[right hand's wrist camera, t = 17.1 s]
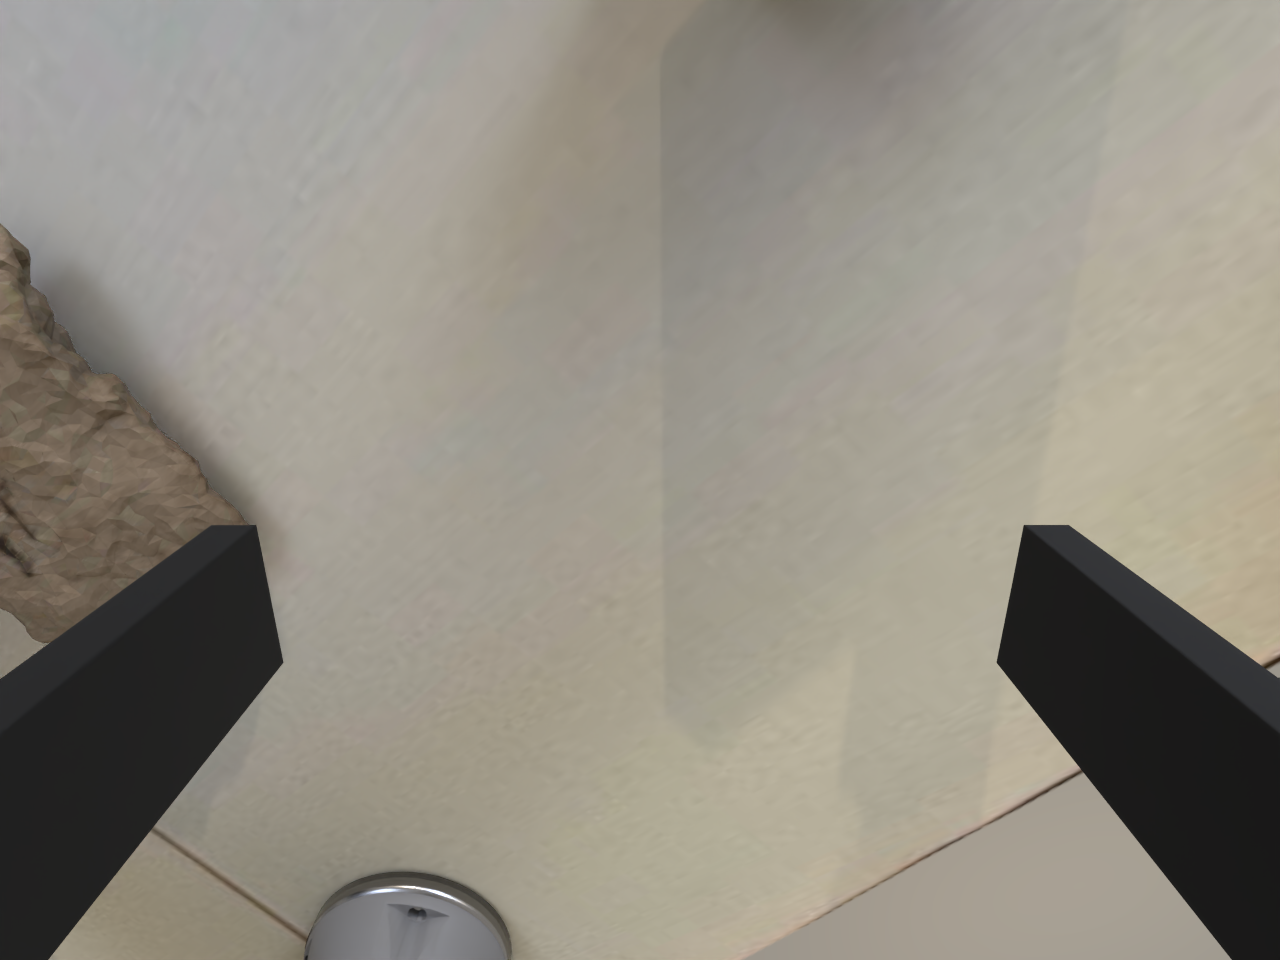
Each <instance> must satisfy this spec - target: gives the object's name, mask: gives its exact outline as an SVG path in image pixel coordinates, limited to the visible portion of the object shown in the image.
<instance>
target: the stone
mask: <svg viewBox="0 0 1280 960" xmlns="http://www.w3.org/2000/svg"><path fill="white" fill-rule="evenodd" d="M30 260H31V259H30V255H29V251H28V249H27V248H26V247H25V246H24V245H22V244H21V243H20V242H19V241H18V240H16V239H15V238H14V237H13V236H12V235H11V234H10V233H9V231H8V230H7V229H6V228H5V227H4V226H3V225H1V224H0V608H1V609H3V610H6V611H8V612H10V613H12V614H13V615H14V616H15V617H16V618H17V619H18V620H19V621H20V622H21V623H22V624H23V625H24V626H25V627H26V630H27V632H28V633H29V635H30V636H31V637H32V638H33V639H35V640H37V641H39V642H43V643H49V642H52V641H53V640H55V639H56V638H57V637H59V636H60V635H62V634H63V633H64V632H66V631H67V630H68V629H70V628H71V627H73V626H74V625H75V624H77V623H78V622H79V621H81V620H82V619H83V618H85V617H86V616H88V615H89V614H90V613H92V612H93V611H94V610H96V609H97V608H99V607H100V606H101V605H103V604H104V603H105V602H107V601H108V600H109V599H111V598H112V597H114V596H115V595H116V594H118V593H119V592H120V591H122V590H123V589H125V588H126V587H127V586H129V585H130V584H131V583H133V582H134V581H136V580H137V579H138V578H140V577H141V576H142V575H144V574H145V573H146V572H148V571H149V570H151V569H152V568H153V567H155V566H156V565H157V564H159V563H160V562H162V561H163V560H164V559H166V558H167V557H168V556H170V555H171V554H172V553H174V552H175V551H177V550H178V549H179V548H181V547H182V546H183V545H185V544H186V543H188V542H189V541H190V540H192V539H193V538H194V537H196V536H197V535H198V534H200V533H201V532H203V531H204V530H205V529H207V528H208V527H209V526H211V525H249V524H248V523H246V522H245V521H244V519H243V518H242V516H241V514H240V513H239V512H238V510H236V509H235V508H234V507H233V506H232V505H231V504H230V503H229V502H228V501H227V500H225V499H224V498H223V497H222V496H221V495H220V494H218V493H217V492H215V491H214V490H213V489H212V488H211V487H210V485H209V484H208V481H207V479H206V478H205V477H204V476H203V474H202V473H201V471H200V467H199V463H198V461H197V460H195V459H194V458H193V457H191V456H190V455H189V454H188V453H186V452H185V451H183V450H182V449H181V448H180V447H179V445H178V444H177V443H176V442H174V441H172V440H170V439H168V438H167V437H166V436H165V435H164V434H163V433H162V432H161V431H160V430H159V429H158V428H157V427H156V425H155V424H154V422H153V420H152V419H151V416H150V413H149V412H147V411H146V410H145V409H144V408H142V407H141V406H140V405H139V404H138V402H137V401H136V400H135V399H134V398H133V397H132V395H131V394H130V393H129V391H128V388H127V387H126V385H125V384H124V383H123V382H122V381H121V380H120V379H119V378H118V377H117V376H116V375H114V374H95V373H93V372H92V371H91V370H90V368H89V366H88V364H87V362H86V361H85V360H84V359H83V358H82V357H81V356H79V355H78V354H76V352H75V349H74V347H73V344H72V342H71V339H70V336H69V335H68V333H67V331H66V330H65V329H64V328H63V327H62V326H61V325H59V324H57V323H56V322H54V316H53V311H52V310H51V309H50V307H49V304H48V302H47V300H46V297H45V296H44V295H43V294H41V293H40V292H39V291H37V290H36V289H35V288H34V287H32V286H31V285H30V283H31V281H30Z"/></svg>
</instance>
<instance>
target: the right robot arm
mask: <svg viewBox="0 0 1280 960" xmlns="http://www.w3.org/2000/svg"><path fill="white" fill-rule="evenodd" d="M282 664H283V658H282V653H281V648H280V643H279V638H278V633H277V628H276V623H275V618H274V613H273V608H272V603H271V598H270V593H269V588H268V583H267V578H266V573H265V568H264V563H263V557H262V552H261V547H260V542H259V537H258V532H257V527H256V525H211V526H209V527H208V528H207V529H205V530H204V531H203V532H201V533H200V534H198V535H197V536H196V537H194V538H193V539H192V540H190V541H189V542H188V543H186V544H185V545H183V546H182V547H181V548H179V549H178V550H177V551H175V552H174V553H172V554H171V555H170V556H168V557H167V558H166V559H164V560H163V561H162V562H160V563H159V564H157V565H156V566H155V567H153V568H152V569H151V570H149V571H148V572H146V573H145V574H144V575H142V576H141V577H140V578H138V579H137V580H136V581H134V582H133V583H131V584H130V585H129V586H127V587H126V588H125V589H123V590H122V591H120V592H119V593H118V594H116V595H115V596H114V597H112V598H111V599H109V600H108V601H107V602H105V603H104V604H103V605H101V606H100V607H99V608H97V609H96V610H94V611H93V612H92V613H90V614H89V615H88V616H86V617H85V618H83V619H82V620H81V621H79V622H78V623H77V624H75V625H74V626H73V627H71V628H70V629H68V630H67V631H66V632H64V633H63V634H62V635H60V636H59V637H57V638H56V639H55V640H53V641H52V642H51V643H49V644H48V645H47V646H45V647H44V648H42V649H41V650H40V651H38V652H37V653H36V654H34V655H33V656H31V657H30V658H29V659H27V660H26V661H25V662H23V663H22V664H20V665H19V666H18V667H16V668H15V669H14V670H12V671H11V672H10V673H8V674H7V675H5V676H4V677H3V678H1V679H0V960H48V959H49V958H50V957H51V955H52V954H53V953H54V952H55V950H56V949H57V948H58V947H59V945H60V944H61V943H62V942H63V940H64V939H65V938H66V936H67V935H68V934H69V933H70V931H71V930H72V929H73V928H74V926H75V925H76V924H77V923H78V921H79V920H80V919H81V918H82V916H83V915H84V914H85V912H86V911H87V910H88V909H89V907H90V906H91V905H92V904H93V902H94V901H95V900H96V899H97V897H98V896H99V895H100V894H101V892H102V891H103V890H104V888H105V887H106V886H107V885H108V883H109V882H110V881H111V880H112V878H113V877H114V876H115V875H116V873H117V872H118V871H119V870H120V868H121V867H122V866H123V864H124V863H125V862H126V861H127V859H128V858H129V857H130V856H131V854H132V853H133V852H134V851H135V849H136V848H137V847H138V846H139V844H140V843H141V842H142V840H143V839H144V838H145V837H146V835H147V834H148V833H149V832H150V830H151V829H152V828H153V827H154V825H155V824H156V823H157V822H158V820H159V819H160V818H161V816H162V815H163V814H164V813H165V811H166V810H167V809H168V808H169V806H170V805H171V804H172V803H173V801H174V800H175V799H176V798H177V796H178V795H179V794H180V792H181V791H182V790H183V789H184V787H185V786H186V785H187V784H188V782H189V781H190V780H191V779H192V777H193V776H194V775H195V774H196V772H197V771H198V770H199V768H200V767H201V766H202V765H203V763H204V762H205V761H206V760H207V758H208V757H209V756H210V755H211V753H212V752H213V751H214V750H215V748H216V747H217V746H218V744H219V743H220V742H221V741H222V739H223V738H224V737H225V736H226V734H227V733H228V732H229V731H230V729H231V728H232V727H233V726H234V724H235V723H236V722H237V720H238V719H239V718H240V717H241V715H242V714H243V713H244V712H245V710H246V709H247V708H248V707H249V705H250V704H251V703H252V702H253V700H254V699H255V698H256V696H257V695H258V694H259V693H260V691H261V690H262V689H263V688H264V686H265V685H266V684H267V683H268V681H269V680H270V679H271V678H272V676H273V675H274V674H275V672H276V671H277V670H278V669H279V667H280V666H281V665H282ZM997 664H998V665H999V666H1000V667H1001V669H1002V670H1003V671H1004V672H1005V674H1006V675H1007V676H1008V678H1009V679H1010V680H1011V681H1012V683H1013V684H1014V685H1015V686H1016V688H1017V689H1018V690H1019V691H1020V693H1021V694H1022V695H1023V696H1024V698H1025V699H1026V700H1027V702H1028V703H1029V704H1030V705H1031V707H1032V708H1033V709H1034V710H1035V712H1036V713H1037V714H1038V715H1039V717H1040V718H1041V719H1042V720H1043V722H1044V723H1045V724H1046V726H1047V727H1048V728H1049V729H1050V731H1051V732H1052V733H1053V734H1054V736H1055V737H1056V738H1057V739H1058V741H1059V742H1060V743H1061V744H1062V746H1063V747H1064V748H1065V750H1066V751H1067V752H1068V753H1069V755H1070V756H1071V757H1072V758H1073V760H1074V761H1075V762H1076V763H1077V765H1078V766H1079V767H1080V768H1081V770H1082V771H1083V772H1084V774H1085V775H1086V776H1087V777H1088V779H1089V780H1090V781H1091V782H1092V784H1093V785H1094V786H1095V787H1096V789H1097V790H1098V791H1099V792H1100V794H1101V795H1102V796H1103V798H1104V799H1105V800H1106V801H1107V803H1108V804H1109V805H1110V806H1111V808H1112V809H1113V810H1114V811H1115V813H1116V814H1117V815H1118V816H1119V818H1120V819H1121V820H1122V822H1123V823H1124V824H1125V825H1126V827H1127V828H1128V829H1129V830H1130V832H1131V833H1132V834H1133V835H1134V837H1135V838H1136V839H1137V840H1138V842H1139V843H1140V844H1141V845H1142V847H1143V848H1144V849H1145V851H1146V852H1147V853H1148V854H1149V856H1150V857H1151V858H1152V859H1153V861H1154V862H1155V863H1156V864H1157V866H1158V867H1159V868H1160V869H1161V871H1162V872H1163V873H1164V875H1165V876H1166V877H1167V878H1168V880H1169V881H1170V882H1171V883H1172V885H1173V886H1174V887H1175V888H1176V890H1177V891H1178V892H1179V893H1180V895H1181V896H1182V897H1183V899H1184V900H1185V901H1186V902H1187V904H1188V905H1189V906H1190V907H1191V909H1192V910H1193V911H1194V912H1195V914H1196V915H1197V916H1198V918H1199V919H1200V920H1201V921H1202V923H1203V924H1204V925H1205V926H1206V928H1207V929H1208V930H1209V931H1210V933H1211V934H1212V935H1213V936H1214V938H1215V939H1216V940H1217V941H1218V943H1219V944H1220V945H1221V947H1222V948H1223V949H1224V950H1225V952H1226V953H1227V954H1228V955H1229V957H1230V958H1231V959H1232V960H1280V678H1277V677H1276V676H1275V675H1273V674H1272V673H1270V672H1269V671H1268V670H1266V669H1265V668H1264V667H1262V666H1261V665H1260V664H1258V663H1257V662H1255V661H1254V660H1253V659H1251V658H1250V657H1249V656H1247V655H1246V654H1244V653H1243V652H1242V651H1240V650H1239V649H1238V648H1236V647H1235V646H1233V645H1232V644H1231V643H1229V642H1228V641H1227V640H1225V639H1224V638H1223V637H1221V636H1220V635H1218V634H1217V633H1216V632H1214V631H1213V630H1212V629H1210V628H1209V627H1207V626H1206V625H1205V624H1203V623H1202V622H1201V621H1199V620H1198V619H1197V618H1195V617H1194V616H1192V615H1191V614H1190V613H1188V612H1187V611H1186V610H1184V609H1183V608H1181V607H1180V606H1179V605H1177V604H1176V603H1175V602H1173V601H1172V600H1171V599H1169V598H1168V597H1166V596H1165V595H1164V594H1162V593H1161V592H1160V591H1158V590H1157V589H1155V588H1154V587H1153V586H1151V585H1150V584H1149V583H1147V582H1146V581H1144V580H1143V579H1142V578H1140V577H1139V576H1138V575H1136V574H1135V573H1134V572H1132V571H1131V570H1129V569H1128V568H1127V567H1125V566H1124V565H1123V564H1121V563H1120V562H1118V561H1117V560H1116V559H1114V558H1113V557H1112V556H1110V555H1109V554H1108V553H1106V552H1105V551H1103V550H1102V549H1101V548H1099V547H1098V546H1097V545H1095V544H1094V543H1092V542H1091V541H1090V540H1088V539H1087V538H1086V537H1084V536H1083V535H1082V534H1080V533H1079V532H1077V531H1076V530H1075V529H1073V528H1072V527H1071V526H1069V525H1024V527H1023V532H1022V537H1021V542H1020V547H1019V552H1018V557H1017V563H1016V568H1015V573H1014V578H1013V583H1012V588H1011V593H1010V598H1009V603H1008V608H1007V613H1006V618H1005V623H1004V628H1003V633H1002V638H1001V643H1000V648H999V653H998V658H997ZM510 959H511V942H510V937H509V934H508V931H507V928H506V926H505V924H504V922H503V921H502V919H501V917H500V916H499V915H498V913H497V912H496V911H495V910H494V909H493V908H492V907H491V905H490V904H489V903H487V902H486V901H485V900H484V899H483V898H481V897H480V896H479V895H477V894H476V893H474V892H473V891H471V890H469V889H468V888H466V887H464V886H462V885H460V884H458V883H455V882H453V881H450V880H447V879H444V878H441V877H437V876H433V875H429V874H423V873H414V872H389V873H382V874H376V875H372V876H368V877H365V878H362V879H359V880H357V881H354V882H352V883H350V884H348V885H346V886H344V887H343V888H341V889H340V890H338V891H337V892H336V893H335V894H333V895H332V896H331V897H330V898H329V899H328V900H327V901H326V903H325V904H324V906H323V907H322V908H321V910H320V912H319V914H318V916H317V918H316V920H315V923H314V925H313V927H312V929H311V931H310V934H309V936H308V939H307V942H306V946H305V953H304V960H510Z"/></svg>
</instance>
